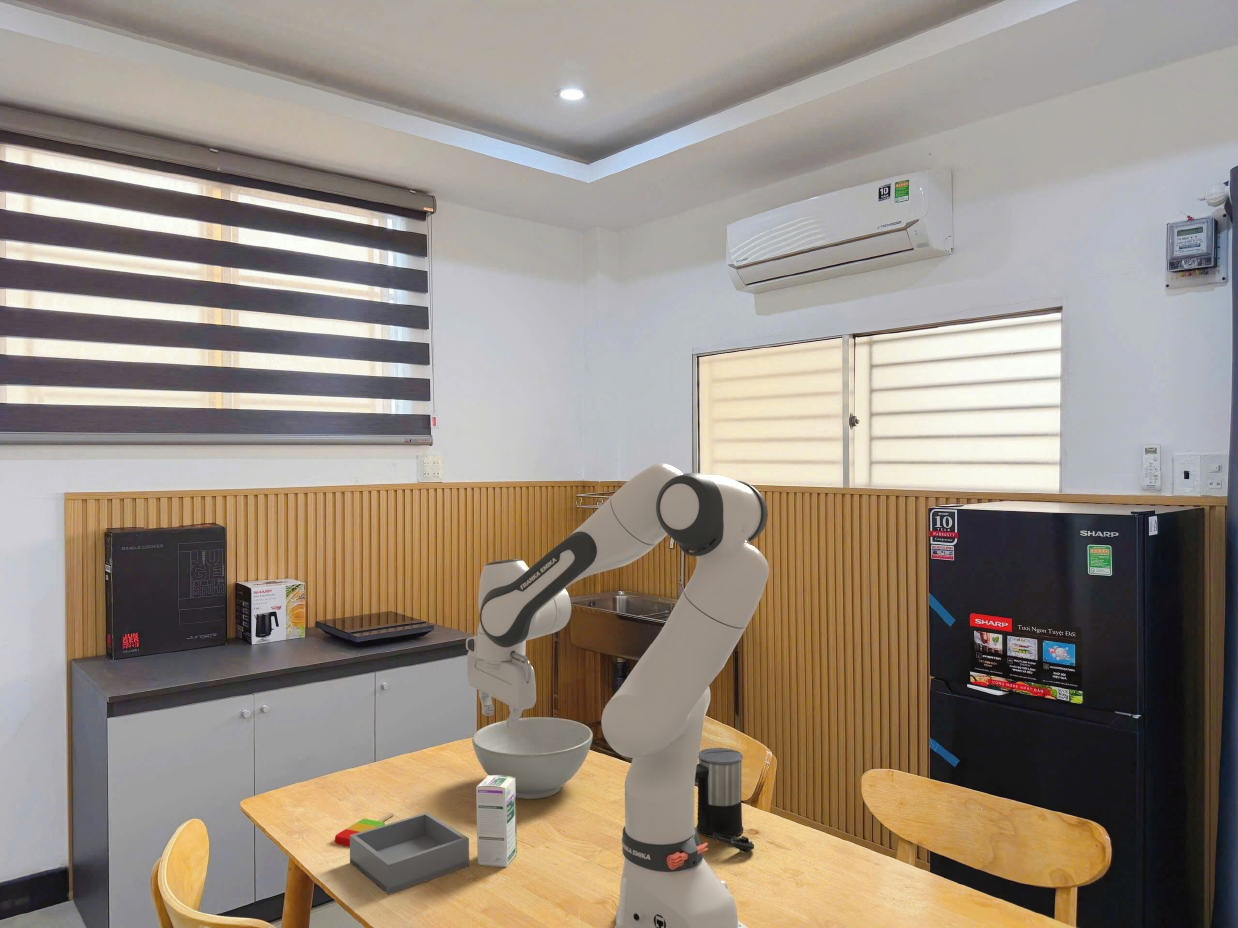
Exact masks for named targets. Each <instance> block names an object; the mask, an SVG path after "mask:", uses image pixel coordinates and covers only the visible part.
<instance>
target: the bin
mask: <svg viewBox="0 0 1238 928" xmlns="http://www.w3.org/2000/svg"><path fill="white" fill-rule="evenodd" d="M349 864H350V865H352V866H353V867H354V868H355V869H357V870H358V871H360V872H361V873H362V874H363V875H364V876H365V877H366V878H368V879H369V880H370V881H371V882H372V883H374V885H375V884H376V886H377V887H379V888H380V889H381V890H382V891H383V892H385V894H387V895H392V894H394V893H398V892H401V891H403V890H406V889H408V888H412V887H413V886H417V885H420V884H422V883H425V882H427V881H430V880H433V879H436V878H440V877H443V876H444V875H447V874H450V873H453V872H456V871H459V870H461V869H464V868H467V867H470V838H469V837H468V836H466V835H464V834H463V833H461V832H460V831H458V830H457V829H454V828H453V827H452V826H450V825H448V824H447V823H446V822H443V821H442V820H440V819H439V818H437V817H435V816H434V815H432V814H431V813H429V812H428V811H427V812H423V813H419V814H416V815H412V816H409V817H406V818H402V819H400V820H396V821H394V822H393V821H392V822H390V823H387V824H386V823H385V825H383V826H379V827H376V828H373V829H369V830H366V831H363V832H359V833H356V834H353V835H350V847H349Z"/></svg>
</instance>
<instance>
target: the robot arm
mask: <svg viewBox="0 0 1238 928" xmlns="http://www.w3.org/2000/svg"><path fill="white" fill-rule="evenodd" d="M768 517H769V510H768V505H767V502H766V500H765V498H764V496H763V494H761V493H760V491H759V490H757V489H756V488H755V487H754V486H752V485H751V484H749V483H746V482H744V481H741V480H734V479H731V478H728V477H726V476H723V475H718V474H712V473H700V472H687V473H683V472H682V471H680V470H679V469H678V468H676V467H675V466H673V465H671V464H667V463H660V462H659V463H656V464H652V465H650V466H647V468H645V469H644V470H642V471H641V472H639V473H637V474H636V475H634V476H633V477H632V478H631V479H630V480H627V482H625V483H624V484H623V485H622V486H621V487H619V488H618V490H617V491H615V492H614V493H613V494H612V495H611V496H609V498H608V499H607V500H606V501H605V502H604V503H603V504H601V506H600V507H599V508H597V510H596V511H594V512H593V513H592V514H591V515H590V516H589V517H588V518H587V519H586V520H585V521H584V522H583V523H582V524H581V525H580V526H579V527H576V529H575V530H574V531H572V532H571V533H570V534H569V535H568V536H567V537H566V538H565V539H564V540H563V541H561V542H560V543H559V544H558V545H556V546H555V547H554V548H552V549H551V550H550V551H549V552H548V553H546V554H545V555H544V556H543V557H542V558H540V559H539V560H538V561H537V562H535V563H534V564H533V565H532V566H531V567H529V566H528V564H526V562H525V561H524V560H522V559H520V558H511V559H509V558H508V559H503V560H495V561H490V562H489V563H487V564H485V565H484V566H483V568H482V571H481V573H480V578H479V585H478V604H477V605H478V606H477V608H478V611H479V623H478V626H477V635H474V636H472V637H468V638H466V640H465V648H466V650H468V652H467V656H466V672H467V673H466V675H467V676H466V677H467V681H468V683H469V686H470V687H473V688H474V689H475V690H478V696H479V699H480V703H481V713H482V714H483V715H484V716H486V717H489V716H493V715H494V714H495V705H493V702H492V698H493V699H496V700H497V701H499V702H501V703H504V704H505V705H508V710H509V712H510V713H509V715H508V717H507V718H506V719H505V721H506V723H507V724H506V726H507V728H509V729H511V730H514V729H518V727H519V719H520V718H521V716H522V714H523V713H524V712H523V711H524V710H529V709H532V708H534V706H535V704H536V702H537V688H536V687H537V686H536V676H535V675H536V674H535V670H534V668H533V666H532V665H531V663H530V661H529V658H528V656H526V651H527V650H526V648H527V647H526V645H527V644H526V643H527V641H530V640H534V639H537V638H540V637H544V636H548V635H550V634H554V633H557V632H558V631H559V632H560V631H561V630H563V629H564V628H565V627H566V626H567V625H568V624H569V622H570V620H571V617H572V612H573V603H572V599H571V596H570V593H569V592H568V590H567V588H568V587H569V586H571V585H573V584H574V583H575V582H578V581H579V580H582V579H584V578H586V577H589V576H593V575H596V574H599V573H602V572H607V571H610V570H615V569H618V568H621V567H625V566H627V565H630V564H631V563H634V562H635V561H637V560H638V559H640V558H642V557H644V555H646V554H647V553H649V552H650V551H652V549H654V547H656V546H657V545H658V544H659V543H660V542H661V541H663V539H664V538H665V537H667V536H669V537H670V538H671V539H672V540H674V541H675V542H676V545H678V546H679V548H680V549H681V551H682V552H683V553H684V554H685V556H686V555H687V556H691V557H696V566H695V568H694V571H693V573H692V575H691V577H690V579H689V580H688V582H687V584H686V585H685V588H684V589H683V591H682V592H681V595H680V596H679V598H678V600H677V602H676V604H675V606H674V607H673V609H672V611H671V613H670V615H669V616H668V617H667V620H666V622H665V624H664V625H663V627H662V629H661V630H660V632H658V633H659V634H658V635H657V636H656V638H655V639H654V640H653V642H652V643H651V644H649V646H648V648H647V649H646V651H645V652H644V653H643V654H642V656H641V657H640V659H639V660H638V661H637V663H636V664H635V666H634V667H633V669H631V671H630V673H629V674H628V675H627V677H626V679H625V680H624V681H623V683H622V684H621V686H620V687H619V688H618V690H617V691H616V692H615V693H614V695H613V696H612V697H611V698H610V700H609V701H608V702H607V703H606V704H605V706H604V708H603V711H602V714H601V720H600V721H601V731H602V734H603V736H604V739H605V740H606V742H607V744H608V745H609V746H610V748H611V749H612V750H613V751H615V752H616V753H617V754H618V755H621V756H623V757H625V758H630V759H632V760H631V763H630V766H629V769H628V771H627V773H626V776H625V780H624V826H623V828H622V835H621V836H622V837H621V849H622V851H621V852H622V855H623V857H624V860H623V869H622V873H621V874H622V875H621V879H620V887H619V895H618V896H619V897H618V899H619V900H618V905H617V908H616V909H617V910H616V913H615V917H614V919H615V926H614V928H749V927H748V926H746V925H745V924H744V923H742V922H741V921H740V920H739V919H738V911H737V904H736V901H735V898H734V896H733V894H732V893H731V892H730V891H729V888H728V885H727V883H726V881H725V880H723V879H720V878H719V876H718V875H717V874H716V873H715V871H714V870H713V868H712V867H711V866H710V865H709V863H708V862H707V861H706V860H705V858H704V852H706V851H708V850H709V849H708V848H707V846H708V845H709V843H708V842H704V843H702V844H701V840H700V836H699V833H698V830H697V827H696V826H695V789H696V787H695V785H696V784H695V783H696V781H695V775H696V767H697V764H698V762H699V758H698V756H699V751H701V744H702V737H703V729H704V723H705V717H706V714H707V711H708V708H709V706H710V702H711V696H712V695H711V689H710V685H711V684H712V682H713V681H714V680H715V679H716V677H717V676H718V675H719V673H720V672H721V671H722V670H723V669H724V667H725V665H726V663H727V662H728V659H729V658H730V656H731V655H732V653H733V651H734V649H735V648H736V646H737V644H738V643H739V641H740V639H741V637H742V636H743V634H744V632H745V631H746V628H747V627H748V625H749V623H750V621H751V620H752V617H753V616H754V614H755V613H756V610H757V607H758V606H759V603H760V601H761V599H762V596H763V593H764V591H765V588H766V585H767V581H768V578H769V575H770V568H769V564H768V560H767V559H766V557H765V556H764V555H763V554H762V552H761V551H760V550H759V549H758V548H757V547H755V546H754V545H752V544H751V543H752V542H753V541H754V540H755V539H757V538H758V537H759V536H760V535H761V534H762V533H763V531H764V529H765V528H766V525H767V522H768ZM750 542H751V543H750Z"/></svg>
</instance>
